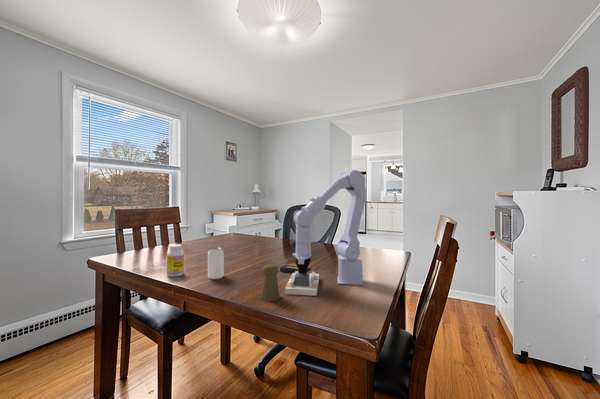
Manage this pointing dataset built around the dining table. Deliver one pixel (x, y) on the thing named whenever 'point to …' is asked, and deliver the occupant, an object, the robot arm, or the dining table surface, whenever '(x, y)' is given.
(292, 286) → the switch board
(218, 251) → the can
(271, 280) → the green chess rook
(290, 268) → the ammunition clip
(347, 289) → the dining table surface
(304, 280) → the switch tab
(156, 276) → the dining table surface
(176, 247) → the supplement bottle
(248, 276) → the dining table surface
